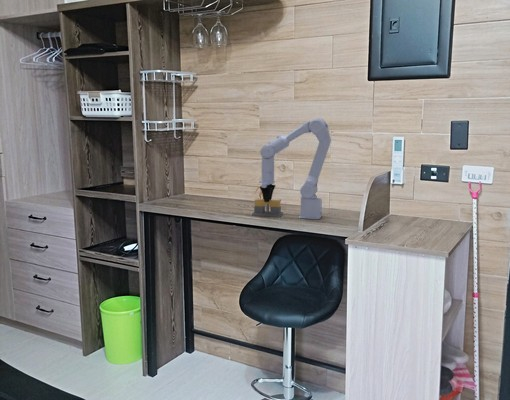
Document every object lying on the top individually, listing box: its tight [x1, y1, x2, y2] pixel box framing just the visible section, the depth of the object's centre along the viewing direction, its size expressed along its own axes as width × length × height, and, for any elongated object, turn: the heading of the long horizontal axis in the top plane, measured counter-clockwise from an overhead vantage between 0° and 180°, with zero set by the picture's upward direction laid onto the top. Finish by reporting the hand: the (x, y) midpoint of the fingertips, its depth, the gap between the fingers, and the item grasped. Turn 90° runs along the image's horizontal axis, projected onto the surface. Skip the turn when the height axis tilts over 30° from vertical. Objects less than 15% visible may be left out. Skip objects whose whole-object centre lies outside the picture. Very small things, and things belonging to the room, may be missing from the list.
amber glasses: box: [254, 197, 282, 208], centre depth 238 cm, size 4×12×3 cm, turn 75°
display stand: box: [251, 204, 284, 218], centre depth 237 cm, size 7×13×5 cm, turn 74°
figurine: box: [254, 186, 264, 199], centre depth 254 cm, size 8×6×12 cm
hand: (267, 201), depth 237 cm, fingers open, 3 cm apart
